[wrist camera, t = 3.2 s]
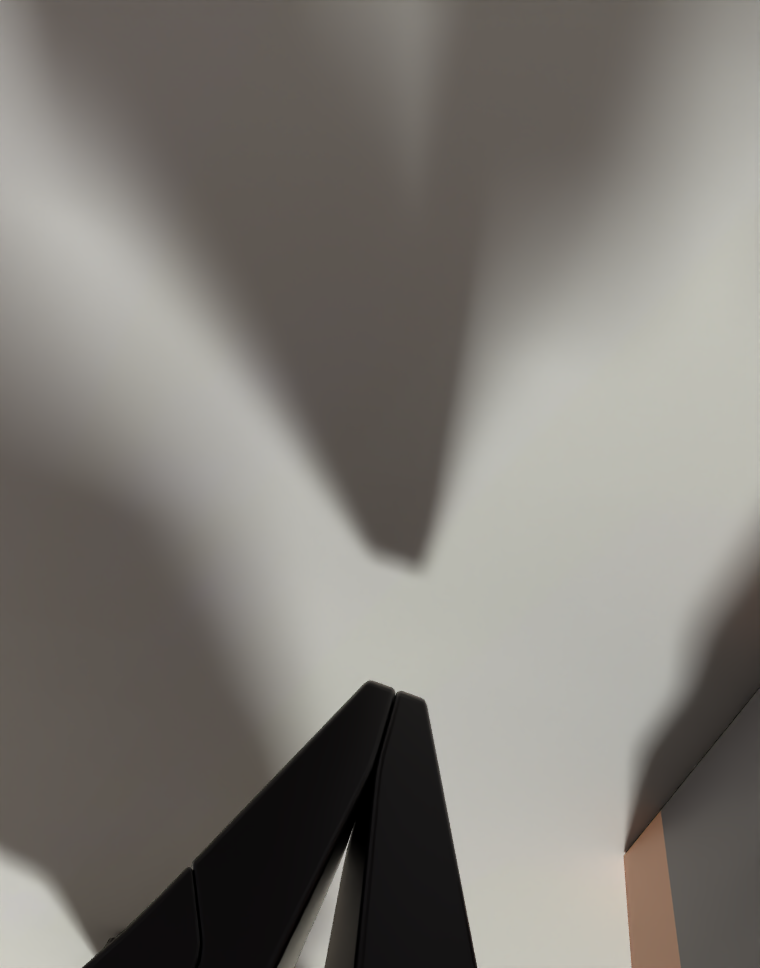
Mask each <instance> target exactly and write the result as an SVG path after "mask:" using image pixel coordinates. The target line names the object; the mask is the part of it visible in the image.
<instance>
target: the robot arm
mask: <svg viewBox="0 0 760 968" xmlns="http://www.w3.org/2000/svg"><path fill="white" fill-rule="evenodd" d="M352 829H353V830H352ZM351 832H352V833H351ZM350 835H351V837H350ZM349 838H350V840H349ZM348 840H349V844H348V848H347V852H346V857H345V861H344V866H343V871H342V876H341V882H340V887H339V892H338V898H337V903H336V909H335V914H334V919H333V925H332V930H331V935H330V941H329V946H328V952H327V957H326V962H325V968H477V963H476V958H475V953H474V948H473V943H472V937H471V932H470V927H469V922H468V917H467V911H466V906H465V901H464V896H463V891H462V885H461V880H460V875H459V870H458V865H457V859H456V854H455V849H454V844H453V839H452V833H451V828H450V823H449V818H448V812H447V807H446V802H445V797H444V792H443V786H442V781H441V776H440V771H439V766H438V760H437V755H436V750H435V745H434V740H433V734H432V729H431V724H430V719H429V714H428V708H427V705H426V702H425V700H424V699H422V698H420V697H417V696H414V695H412V694H409V693H406V692H403V691H399V692H397V693H396V695H395V690H394V689H393V688H392V687H389V686H386V685H383V684H380V683H378V682H375V681H367V682H366V683H364V684H363V685H362V686H361V687H360V688H359V689H358V690H357V692H356V693H355V694H354V695H353V696H352V697H351V698H350V699H349V700H348V701H347V702H346V703H345V704H344V705H343V706H342V707H341V708H340V709H339V710H338V711H337V712H336V713H335V714H334V715H333V716H332V718H331V719H330V720H329V721H328V722H327V723H326V724H325V725H324V726H323V727H322V728H321V729H320V730H319V731H318V732H317V733H316V734H315V735H314V736H313V737H312V738H311V739H310V740H309V741H308V742H307V744H306V745H305V746H304V747H303V748H302V749H301V750H300V751H299V752H298V753H297V754H296V755H295V756H294V757H293V758H292V759H291V760H290V761H289V762H288V763H287V764H286V765H285V766H284V767H283V769H282V770H281V771H280V772H279V773H278V774H277V775H276V776H275V777H274V778H273V779H272V780H271V781H270V782H269V783H268V784H267V785H266V786H265V787H264V788H263V789H262V790H261V791H260V792H259V793H258V795H257V796H256V797H255V798H254V799H253V800H252V801H251V802H250V803H249V804H248V805H247V806H246V807H245V808H244V809H243V810H242V811H241V812H240V813H239V814H238V815H237V816H236V817H235V818H234V819H233V821H232V822H231V823H230V824H229V825H228V826H227V827H226V828H225V829H224V830H223V831H222V832H221V833H220V834H219V835H218V836H217V837H216V838H215V839H214V840H213V841H212V842H211V843H210V844H209V845H208V847H207V848H206V849H205V850H204V851H203V852H202V853H201V854H200V855H199V856H198V857H197V858H196V859H195V860H194V861H193V863H192V868H190V867H188V868H186V869H185V870H184V871H183V872H182V873H181V874H180V875H179V876H178V877H177V878H176V879H175V880H174V881H173V882H172V883H171V884H170V886H169V887H168V888H167V889H166V890H165V891H164V892H163V893H162V894H161V895H160V896H159V897H158V898H157V899H156V900H155V901H154V902H153V903H152V904H151V905H150V906H149V907H148V908H147V909H145V910H144V911H143V912H142V913H141V914H140V915H139V916H138V917H137V918H136V919H135V920H134V921H133V922H132V923H131V924H130V925H129V926H128V927H127V928H126V929H125V930H124V931H123V932H122V933H121V934H120V935H118V936H117V937H116V938H110V939H109V940H108V942H107V944H106V946H105V947H104V949H103V950H102V951H100V952H99V953H98V954H97V955H96V956H95V957H94V958H93V959H91V960H90V961H89V962H88V963H87V964H86V965H85V966H83V967H82V968H294V967H295V964H296V962H297V960H298V957H299V955H300V953H301V951H302V948H303V946H304V944H305V942H306V939H307V937H308V935H309V932H310V930H311V928H312V926H313V923H314V921H315V919H316V916H317V914H318V912H319V910H320V907H321V905H322V903H323V900H324V898H325V896H326V894H327V891H328V889H329V887H330V884H331V882H332V880H333V878H334V875H335V873H336V871H337V869H338V866H339V864H340V861H341V859H342V856H343V854H344V851H345V849H346V846H347V843H348Z"/></svg>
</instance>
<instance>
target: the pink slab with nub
mask: <svg viewBox="0 0 760 968" xmlns="http://www.w3.org/2000/svg"><path fill="white" fill-rule="evenodd" d="M624 868H625V882H626V896H627V910H628V923H629V937H630V951H631V965H632V968H760V688H759V690H758V691H757V692H756V693H755V694H754V696H753V697H752V698H751V699H750V701H749V702H748V703H747V704H746V706H745V707H744V708H743V709H742V711H741V712H740V713H739V714H738V715H737V717H736V718H735V719H734V720H733V722H732V723H731V724H730V725H729V727H728V728H727V729H726V730H725V732H724V733H723V734H722V735H721V736H720V738H719V739H718V740H717V741H716V743H715V744H714V745H713V746H712V748H711V749H710V750H709V751H708V753H707V754H706V755H705V756H704V757H703V759H702V760H701V761H700V762H699V764H698V765H697V766H696V767H695V769H694V770H693V771H692V772H691V774H690V775H689V776H688V777H687V778H686V780H685V781H684V782H683V783H682V785H681V786H680V787H679V788H678V790H677V791H676V792H675V793H674V795H673V796H672V797H671V798H670V799H669V801H668V802H667V803H666V804H665V806H664V807H663V808H662V809H661V811H660V812H659V813H658V814H657V816H656V817H655V818H654V819H653V820H652V822H651V823H650V824H649V825H648V827H647V828H646V829H645V830H644V832H643V833H642V834H641V835H640V837H639V838H638V839H637V840H636V841H635V843H634V844H633V845H632V846H631V848H630V849H629V850H628V851H627V853H626V854H625V855H624Z"/></svg>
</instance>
